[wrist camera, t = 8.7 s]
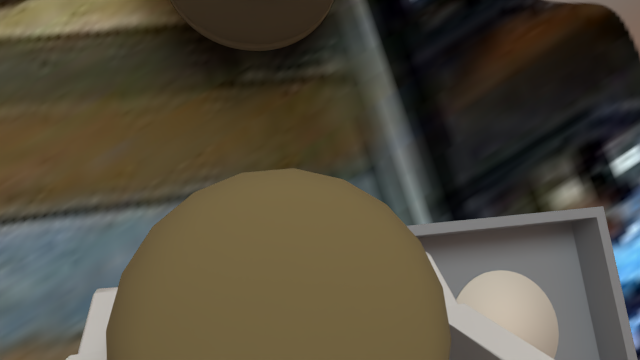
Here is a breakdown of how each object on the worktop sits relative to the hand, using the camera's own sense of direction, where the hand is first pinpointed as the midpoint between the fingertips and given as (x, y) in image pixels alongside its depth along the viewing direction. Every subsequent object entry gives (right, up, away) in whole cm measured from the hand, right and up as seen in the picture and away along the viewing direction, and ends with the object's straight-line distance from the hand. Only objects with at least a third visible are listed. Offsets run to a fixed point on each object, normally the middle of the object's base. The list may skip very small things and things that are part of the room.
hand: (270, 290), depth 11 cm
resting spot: (+12, -7, +19) cm, 24 cm away
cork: (-1, -2, +6) cm, 6 cm away
